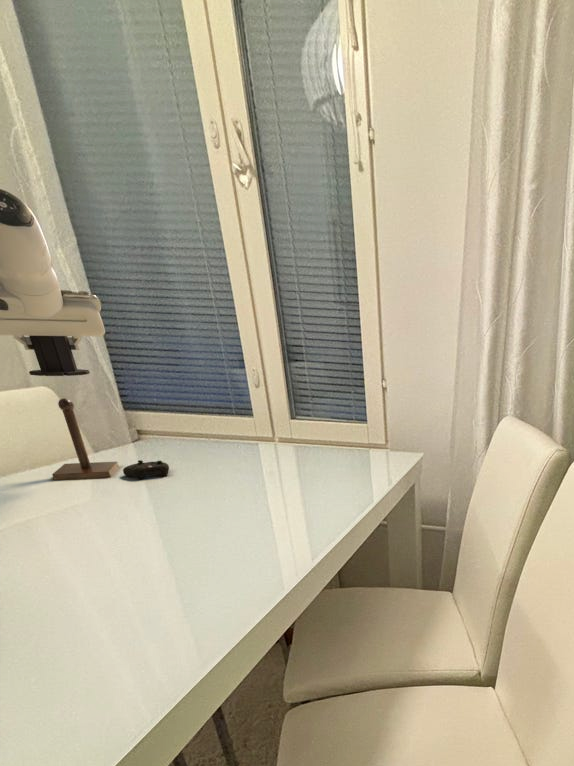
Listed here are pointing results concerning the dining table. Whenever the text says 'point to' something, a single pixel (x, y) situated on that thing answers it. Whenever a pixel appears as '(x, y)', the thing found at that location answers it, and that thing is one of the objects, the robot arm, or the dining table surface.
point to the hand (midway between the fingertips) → (51, 347)
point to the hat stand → (80, 453)
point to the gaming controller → (146, 469)
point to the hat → (54, 357)
